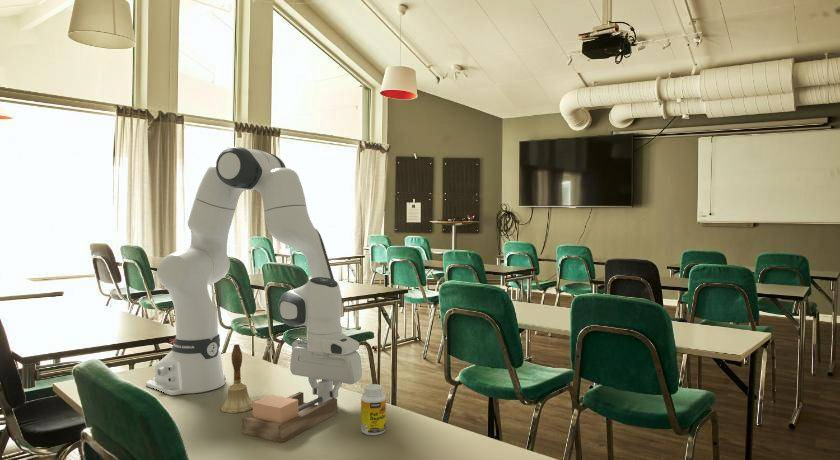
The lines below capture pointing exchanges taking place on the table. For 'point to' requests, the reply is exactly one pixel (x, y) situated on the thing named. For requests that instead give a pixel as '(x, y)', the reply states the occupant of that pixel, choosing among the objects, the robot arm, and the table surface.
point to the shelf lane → (290, 421)
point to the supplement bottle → (373, 410)
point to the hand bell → (237, 388)
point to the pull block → (288, 405)
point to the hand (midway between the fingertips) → (325, 395)
